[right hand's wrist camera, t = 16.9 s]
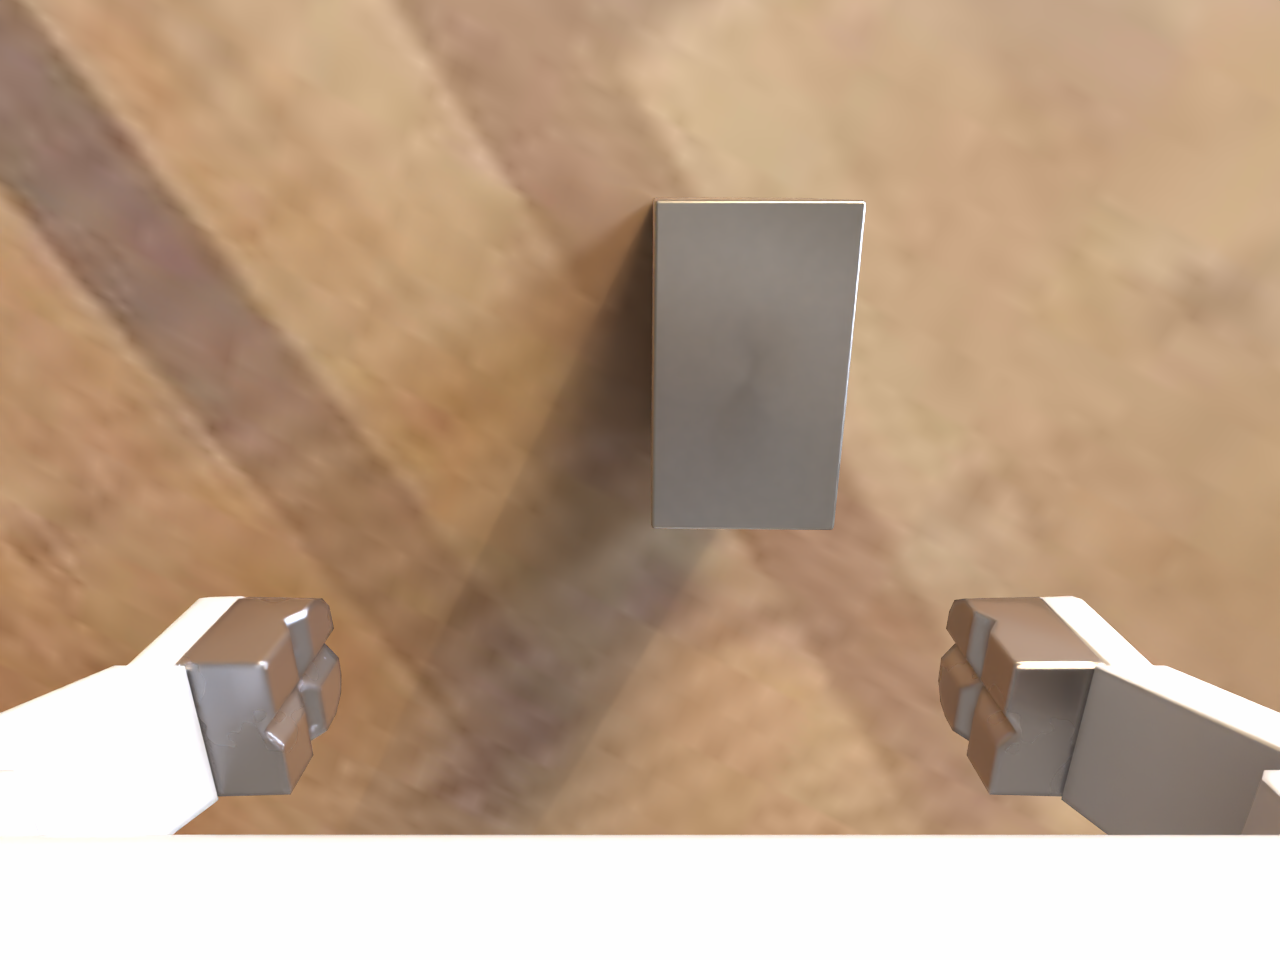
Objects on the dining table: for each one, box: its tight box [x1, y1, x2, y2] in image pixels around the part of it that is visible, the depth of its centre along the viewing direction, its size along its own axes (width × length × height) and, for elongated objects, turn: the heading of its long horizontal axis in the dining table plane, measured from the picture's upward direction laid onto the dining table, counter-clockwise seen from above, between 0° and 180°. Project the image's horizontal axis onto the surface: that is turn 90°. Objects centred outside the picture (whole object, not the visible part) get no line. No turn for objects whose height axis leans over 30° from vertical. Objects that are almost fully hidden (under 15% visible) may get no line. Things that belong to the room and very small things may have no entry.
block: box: [651, 197, 866, 530], centre depth 23 cm, size 5×8×9 cm, turn 0°
